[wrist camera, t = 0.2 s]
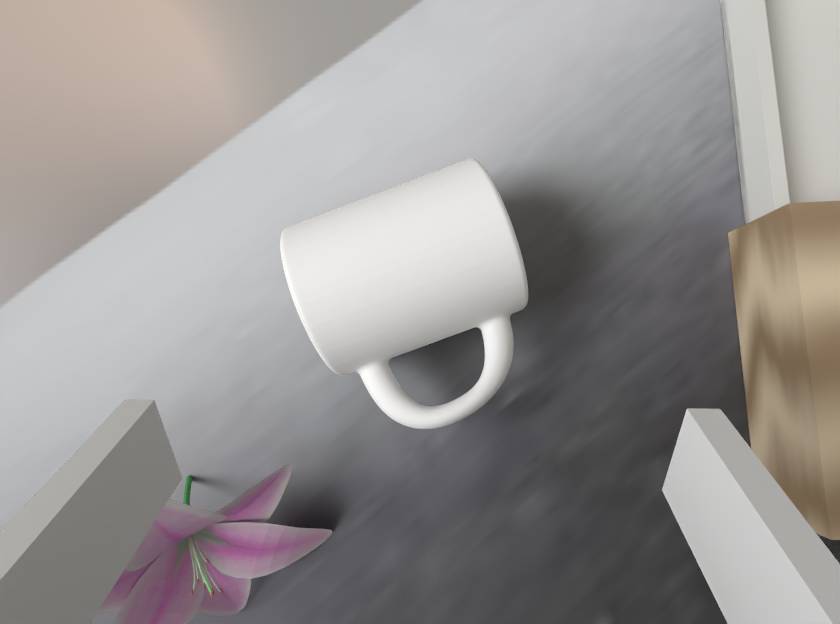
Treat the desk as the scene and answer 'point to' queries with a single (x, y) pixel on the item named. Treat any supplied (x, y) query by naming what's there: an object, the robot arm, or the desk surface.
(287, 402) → the desk surface
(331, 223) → the mug
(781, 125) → the tray
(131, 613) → the lily
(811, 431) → the oak board
